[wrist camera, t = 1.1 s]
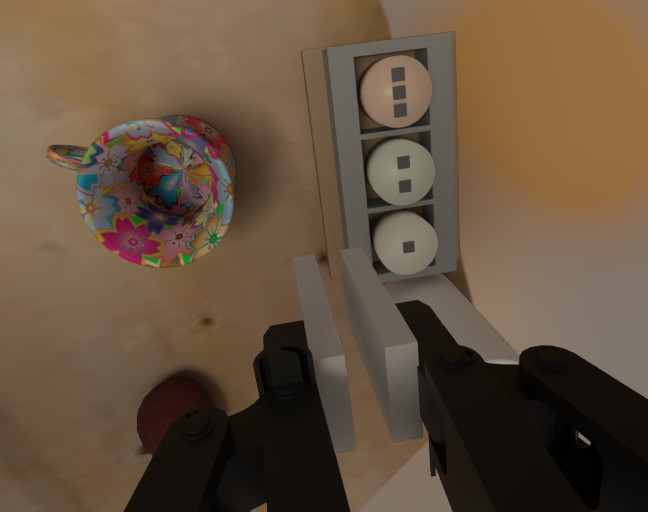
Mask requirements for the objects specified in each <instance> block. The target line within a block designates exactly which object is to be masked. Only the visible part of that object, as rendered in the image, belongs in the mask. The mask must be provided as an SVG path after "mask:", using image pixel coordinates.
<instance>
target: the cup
mask: <svg viewBox="0 0 648 512" xmlns="http://www.w3.org/2000/svg"><path fill="white" fill-rule="evenodd" d="M384 287H385V288H386V290H387V292H388V293H389V295H390V297H391V298H392V300H393V302H394V303H401V302H407V301H413V300H419V301H421V302H423V303H425V304H427V305H429V306H430V307H431V308H432V310H433V311H434V312H435V314H436V316H437V317H438V318H439V319H440V320H441V322H442V324H444V326H445V327H446V328H447V330H448V331H449V333H450V334H451V335H452V337H453V338H454V339H455V341H456V342H457V343H458V345H461V346H466V347H469V348H471V349H473V350H475V351H476V352H477V353H478V354H480V355H481V357H482V358H483V359H484V361H485V362H487V363H495V364H519V356H520V355H519V354H518V353H517V352H516V351H515V350H514V349H513V348H512V346H511V345H510V344H509V343H508V342H507V341H505V339H504V338H503V337H502V336H501V335H500V334H499V333H498V332H497V331H496V330H495V328H494V327H493V326H492V325H491V324H490V323H489V322H488V321H487V320H486V319H485V318H484V317H483V316H482V315H481V314H480V313H479V311H478V310H477V309H476V308H475V307H474V306H473V305H472V304H471V303H470V302H469V301H468V300H467V299H466V298H465V296H464V295H463V294H462V293H461V292H460V291H459V290H458V289H457V288H456V287H455V286H454V285H453V284H452V283H451V282H450V281H449V279H448V278H446V277H445V276H444V275H443V274H441V273H439V274H433V275H427V276H421V277H415V278H409V279H403V280H397V281H391V282H387V283H386V284H385V285H384Z"/></svg>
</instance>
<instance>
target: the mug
mask: <svg viewBox="0 0 648 512" xmlns="http://www.w3.org/2000/svg"><path fill="white" fill-rule="evenodd" d="M69 156H72V157H81V158H83V159H82V160H79V159H75V158H72V157H69ZM46 157H47V159H48V160H50V161H51V162H53V163H55V164H57V165H59V166H62V167H65V168H68V169H71V170H75V171H78V175H77V198H78V203H79V207H80V210H81V213H82V216H83V218H84V220H85V222H86V224H87V225H88V227H89V229H90V230H91V231H92V233H93V234H94V235H95V237H96V238H97V239H98V240H99V241H100V242H101V243H102V244H103V245H104V246H105V247H106V248H108V249H109V250H110V251H112V252H113V253H115V254H116V255H118V256H120V257H122V258H123V259H125V260H128V261H130V262H133V263H136V264H139V265H143V266H148V267H156V268H169V267H177V266H181V265H185V264H188V263H191V262H193V261H196V260H197V259H199V258H201V257H203V256H204V255H206V254H207V253H209V252H210V251H211V250H212V249H213V248H214V247H215V246H216V245H217V244H218V243H219V242H220V240H221V239H222V238H223V236H224V235H225V233H226V231H227V229H228V227H229V224H230V222H231V218H232V214H233V208H234V191H233V187H234V184H235V176H236V169H235V162H234V158H233V155H232V152H231V150H230V148H229V146H228V144H227V143H226V141H225V140H224V139H223V137H222V136H221V135H220V134H219V133H218V132H217V131H216V130H215V129H213V128H212V127H211V126H209V125H208V124H206V123H204V122H202V121H200V120H198V119H195V118H191V117H187V116H167V117H162V118H159V119H139V120H133V121H128V122H125V123H122V124H119V125H117V126H115V127H113V128H111V129H109V130H107V131H106V132H105V133H103V134H102V135H101V136H99V137H98V138H97V139H96V140H95V141H94V142H93V143H92V144H91V146H90V147H89V148H86V147H80V146H71V145H52V146H49V147H48V148H47V151H46Z"/></svg>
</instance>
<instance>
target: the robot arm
mask: <svg viewBox="0 0 648 512" xmlns="http://www.w3.org/2000/svg"><path fill="white" fill-rule="evenodd" d="M340 254H341V263H342V271H343V280H344V288H345V297H346V305H347V314H348V319H349V322H350V325H351V327H352V330H353V333H354V336H355V339H356V341H357V344H358V347H359V350H360V352H361V355H362V358H363V361H364V363H365V366H366V369H367V372H368V375H369V377H370V380H371V383H372V386H373V388H374V391H375V394H376V397H377V400H378V402H379V405H380V408H381V411H382V413H383V416H384V419H385V422H386V424H387V427H388V430H389V433H390V436H391V438H392V441H393V443H395V442H400V441H405V440H410V439H416V438H421V437H423V428H422V421H423V423H424V425H425V427H426V429H427V431H428V435H429V453H430V470H431V476H436V471H435V468H436V469H437V472H438V475H439V477H440V480H441V482H442V485H443V488H444V490H445V493H446V495H447V498H448V501H449V503H450V506H451V509H452V511H453V512H648V399H646V398H645V397H643V396H642V395H640V394H639V393H637V392H635V391H634V390H632V389H631V388H629V387H627V386H626V385H624V384H623V383H621V382H619V381H618V380H616V379H615V378H613V377H611V376H610V375H608V374H607V373H605V372H603V371H602V370H601V369H599V368H597V367H596V366H594V365H592V364H591V363H589V362H588V361H586V360H585V359H583V358H581V357H580V356H578V355H577V354H575V353H573V352H571V351H568V350H566V349H563V348H559V347H555V346H549V345H548V346H546V345H543V346H542V345H540V346H534V347H530V348H528V349H526V350H524V351H523V352H522V353H521V355H520V356H519V364H495V363H487V362H485V361H484V359H483V358H482V357H481V355H480V354H478V353H477V352H476V351H475V350H473V349H471V348H469V347H466V346H461V345H458V343H457V342H456V341H455V339H454V338H453V337H452V335H451V334H450V333H449V331H448V330H447V328H446V327H445V326H444V324H442V322H441V320H440V319H439V318H438V317H437V316H436V314H435V312H434V311H433V310H432V308H431V307H430V306H429V305H427V304H425V303H423V302H421V301H419V300H413V301H407V302H401V303H394V302H393V300H392V298H391V297H390V295H389V293H388V292H387V290H386V288H385V287H384V285H383V283H382V281H381V280H380V278H379V276H378V275H377V273H376V271H375V270H374V268H373V266H372V265H371V263H370V261H369V260H368V258H367V256H366V255H365V253H364V251H363V249H362V248H361V247H357V248H351V249H344V250H340ZM293 260H294V266H295V273H296V279H297V285H298V292H299V298H300V304H301V311H302V317H303V320H301V321H296V322H290V323H284V324H278V325H272V326H270V327H269V329H268V330H267V331H266V333H265V334H264V336H263V344H264V350H263V351H262V352H260V353H259V354H258V355H257V357H256V358H255V360H254V363H253V367H254V372H255V377H256V382H257V386H258V391H259V399H258V400H257V401H256V402H255V403H254V404H252V405H251V406H250V407H248V408H247V409H245V410H243V411H241V412H239V413H236V414H234V415H231V416H229V417H228V416H227V414H226V413H225V411H223V410H221V409H219V408H216V407H202V408H197V409H194V410H191V411H189V412H187V413H184V414H183V415H181V416H180V417H179V418H177V419H176V420H174V421H173V423H172V424H171V425H170V427H169V428H168V429H167V431H166V433H165V435H164V437H163V438H162V440H161V442H160V444H159V446H158V448H157V450H156V452H155V454H154V455H153V457H152V459H151V461H150V463H149V465H148V467H147V469H146V471H145V472H144V474H143V476H142V478H141V480H140V482H139V484H138V486H137V487H136V489H135V491H134V493H133V495H132V497H131V499H130V501H129V503H128V504H127V506H126V508H125V510H124V512H250V510H252V509H254V508H256V507H258V506H260V505H262V504H264V503H266V502H267V512H350V508H349V504H348V501H347V497H346V493H345V489H344V485H343V482H342V478H341V474H340V470H339V466H338V463H337V459H336V455H335V454H337V453H342V452H347V451H352V450H356V444H355V436H354V428H353V420H352V412H351V404H350V396H349V388H348V380H347V372H346V364H345V356H344V352H343V349H342V345H341V342H340V339H339V335H338V332H337V329H336V325H335V322H334V318H333V315H332V312H331V308H330V305H329V302H328V298H327V295H326V292H325V288H324V285H323V282H322V278H321V275H320V272H319V268H318V265H317V261H316V258H315V255H314V254H313V255H307V256H300V257H294V258H293ZM579 433H580V434H582V435H583V436H584V437H585V438H587V439H588V440H589V441H590V442H591V445H588V444H587V443H585V442H584V441H583V440H582V439H580V438H579V437H578V434H579Z"/></svg>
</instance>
